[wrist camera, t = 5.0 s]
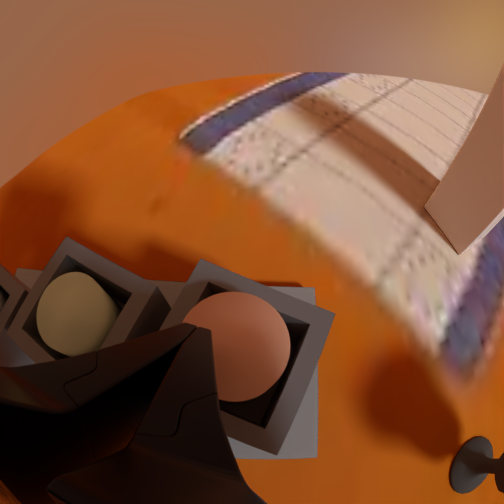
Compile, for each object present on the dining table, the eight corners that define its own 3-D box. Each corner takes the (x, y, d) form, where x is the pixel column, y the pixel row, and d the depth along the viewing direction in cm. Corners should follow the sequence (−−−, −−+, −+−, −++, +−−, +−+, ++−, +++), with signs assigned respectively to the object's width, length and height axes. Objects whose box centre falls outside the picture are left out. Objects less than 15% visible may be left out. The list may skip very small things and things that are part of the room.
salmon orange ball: (257, 415, 12) (262, 418, 8) (181, 380, 12) (157, 368, 9) (289, 343, 13) (306, 316, 10) (217, 312, 14) (208, 275, 11)
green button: (114, 382, 13) (76, 369, 10) (66, 346, 14) (24, 324, 10) (146, 323, 15) (119, 293, 11) (97, 293, 15) (64, 259, 12)
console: (312, 454, 15) (358, 479, 8) (-2, 394, 15) (-72, 371, 8) (311, 294, 21) (344, 228, 14) (24, 274, 20) (-29, 222, 13)
